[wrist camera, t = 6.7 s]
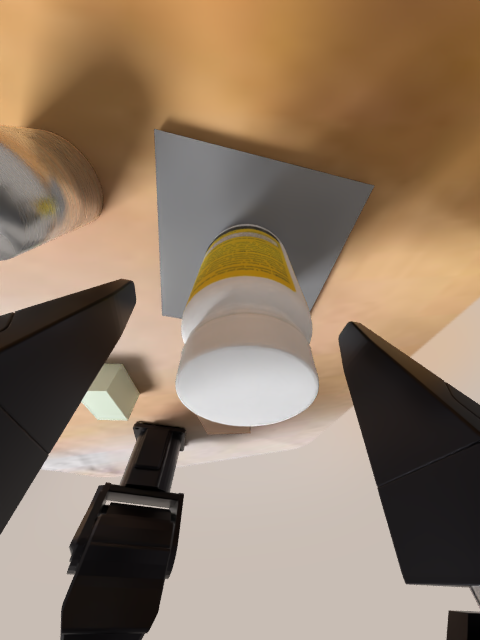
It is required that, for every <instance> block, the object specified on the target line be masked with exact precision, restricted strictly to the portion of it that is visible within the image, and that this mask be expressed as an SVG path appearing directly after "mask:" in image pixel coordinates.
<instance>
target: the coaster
mask: <svg viewBox="0 0 480 640" xmlns="http://www.w3.org/2000/svg"><path fill="white" fill-rule="evenodd" d="M154 135H155V159H156V182H157V205H158V229H159V252H160V275H161V298H162V315H163V316H168V317H174V318H180V319H182V317H183V313H184V310H185V307H186V305H187V302H188V299H189V297H190V294H191V291H192V289H193V286H194V283H195V281H196V278H197V275H198V273H199V270H200V267H201V265H202V262H203V259H204V257H205V254H206V251H207V249H208V247H209V245H210V244H211V242H212V241H213V240H214V239H215V237H216V236H217V235H218V234H220V233H221V232H222V231H224V230H226V229H228V228H230V227H232V226H235V225H240V224H253V225H258V226H261V227H263V228H265V229H267V230H269V231H270V232H272V233H273V234H274V235H275V236H276V237H277V238H278V239H279V240H280V241H281V243H282V244H283V246H284V248H285V250H286V252H287V255H288V258H289V261H290V263H291V266H292V268H293V271H294V274H295V276H296V279H297V281H298V284H299V286H300V289H301V291H302V293H303V296H304V298H305V301H306V303H307V306H308V308H309V311H311V309H312V307H313V305H314V303H315V301H316V299H317V297H318V295H319V293H320V291H321V289H322V287H323V285H324V283H325V281H326V279H327V277H328V275H329V273H330V272H331V270H332V268H333V266H334V264H335V262H336V260H337V258H338V256H339V254H340V252H341V250H342V248H343V246H344V244H345V242H346V240H347V238H348V236H349V234H350V233H351V231H352V229H353V227H354V225H355V223H356V221H357V219H358V217H359V215H360V213H361V211H362V209H363V207H364V205H365V203H366V201H367V199H368V197H369V195H370V193H371V192H372V190H373V188H374V185H370V184H366V183H362V182H358V181H354V180H351V179H347V178H343V177H339V176H335V175H331V174H327V173H323V172H320V171H316V170H312V169H308V168H304V167H300V166H296V165H292V164H289V163H285V162H281V161H277V160H273V159H269V158H265V157H261V156H257V155H254V154H250V153H246V152H242V151H238V150H234V149H230V148H226V147H223V146H219V145H215V144H211V143H207V142H203V141H199V140H195V139H192V138H188V137H184V136H180V135H176V134H172V133H168V132H164V131H161V130H157V129H154Z"/></svg>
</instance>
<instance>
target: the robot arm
mask: <svg viewBox="0 0 480 640" xmlns="http://www.w3.org/2000/svg"><path fill="white" fill-rule="evenodd" d="M135 304H136V294H135V286H134V283H133V281H131V280H126V279H119V280H116V281H113V282H109V283H106V284H103V285H100V286H96V287H93V288H90V289H87V290H83V291H80V292H77V293H74V294H70V295H67V296H64V297H61V298H57V299H54V300H51V301H47V302H44V303H41V304H38V305H34V306H31V307H28V308H25V309H21V310H18V311H15V313H13V312H11V313H8V314H5V315H2V316H0V534H1V533H2V531H3V529H4V528H5V526H6V524H7V523H8V521H9V520H10V518H11V516H12V515H13V513H14V511H15V510H16V508H17V506H18V505H19V503H20V501H21V500H22V498H23V496H24V495H25V493H26V491H27V490H28V488H29V486H30V485H31V483H32V482H33V480H34V479H35V477H36V475H37V473H38V472H39V470H40V469H41V467H42V465H43V464H44V462H45V460H46V459H47V457H48V454H49V453H50V452H51V450H52V449H53V447H54V445H55V444H56V442H57V440H58V439H59V437H60V435H61V434H62V432H63V431H64V429H65V427H66V426H67V424H68V422H69V421H70V419H71V417H72V416H73V414H74V412H75V411H76V409H77V408H78V406H79V404H80V403H81V401H82V399H83V398H84V396H85V394H86V393H87V391H88V390H89V388H90V386H91V385H92V383H93V381H94V380H95V378H96V376H97V375H98V373H99V371H100V370H101V368H102V367H103V365H104V363H105V362H106V360H107V358H108V357H109V355H110V353H111V352H112V350H113V348H114V347H115V345H116V344H117V342H118V340H119V339H120V337H121V335H122V333H123V331H124V329H125V327H126V324H127V322H128V320H129V318H130V315H131V313H132V311H133V309H134V306H135ZM339 346H340V352H341V358H342V363H343V369H344V373H345V377H346V380H347V384H348V387H349V391H350V394H351V398H352V401H353V405H354V408H355V411H356V415H357V418H358V422H359V425H360V429H361V432H362V436H363V439H364V443H365V446H366V449H367V453H368V457H369V460H370V464H371V467H372V471H373V474H374V477H375V481H376V484H377V486H378V492H379V496H380V499H381V502H382V506H383V509H384V513H385V516H386V520H387V523H388V527H389V530H390V534H391V537H392V541H393V544H394V548H395V551H396V555H397V558H398V562H399V565H400V569H401V572H402V575H403V578H404V580H405V583H406V584H414V585H433V586H452V587H469V588H470V590H471V592H472V594H473V596H474V598H475V600H476V602H477V604H478V606H479V608H480V405H479V404H478V403H476V402H475V401H473V400H472V399H470V398H469V397H467V396H466V395H464V394H463V393H461V392H460V391H458V390H457V389H455V388H454V387H452V386H451V385H450V384H448V383H446V382H444V380H442V379H441V378H439V377H438V376H436V375H435V374H433V373H432V372H430V371H429V370H428V369H426V368H425V367H423V366H422V365H420V364H419V363H417V362H416V361H414V360H413V359H412V358H410V357H409V356H407V355H406V354H404V353H403V352H401V351H400V350H398V349H397V348H396V347H394V346H393V345H391V344H390V343H388V342H387V341H385V340H384V339H382V338H381V337H380V336H378V335H377V334H375V333H374V332H372V331H371V330H369V329H368V328H366V327H365V326H364V325H362V324H361V323H358V322H352V321H351V322H348V323H347V325H346V326H345V328H344V329H343V331H342V332H341V333H340V335H339ZM133 430H134V434H135V437H136V444H135V446H134V449H133V451H132V454H131V457H130V459H129V462H128V464H127V467H126V469H125V472H124V475H123V477H122V480H121V482H120V485H113V484H111V483H107V482H106V484H105V485H101V486H98V489H97V491H96V493H95V496H94V498H93V500H92V502H91V504H90V506H89V508H88V511H87V512H86V514H85V516H84V518H83V520H82V522H81V524H80V526H79V528H78V530H77V532H76V534H75V536H74V538H73V540H72V542H71V544H70V546H69V547H70V551H71V555H72V556H71V558H70V562H71V563H70V566H69V568H68V571H67V574H75V575H74V577H73V580H72V582H71V585H70V587H69V590H68V592H67V595H66V597H65V599H64V602H63V605H62V611H61V640H142V638H143V636H144V634H145V633H147V632H148V631H149V630H150V628H151V626H152V624H153V622H154V620H155V618H156V615H157V613H158V610H159V605H160V600H161V595H162V591H163V585H164V581H165V579H168V578H169V576H170V574H171V571H172V568H173V564H174V560H175V556H176V551H177V546H178V538H179V530H180V522H181V514H182V506H183V498H184V494H183V493H179V494H176V493H170V488H171V485H172V480H173V476H174V471H175V467H176V463H177V459H178V454H179V451H183V450H184V445H185V433H186V431H185V430H184V429H180V428H171V427H163V426H155V425H146V424H137V423H136V424H134V427H133ZM106 500H110V501H118V502H126V503H133V504H143V505H150V506H157V507H165V508H169V509H160V508H152V507H144V506H136V505H128V504H120V503H112V502H111V503H110V505H105V503H106ZM447 640H480V612H473V611H449V615H448V627H447Z"/></svg>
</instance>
